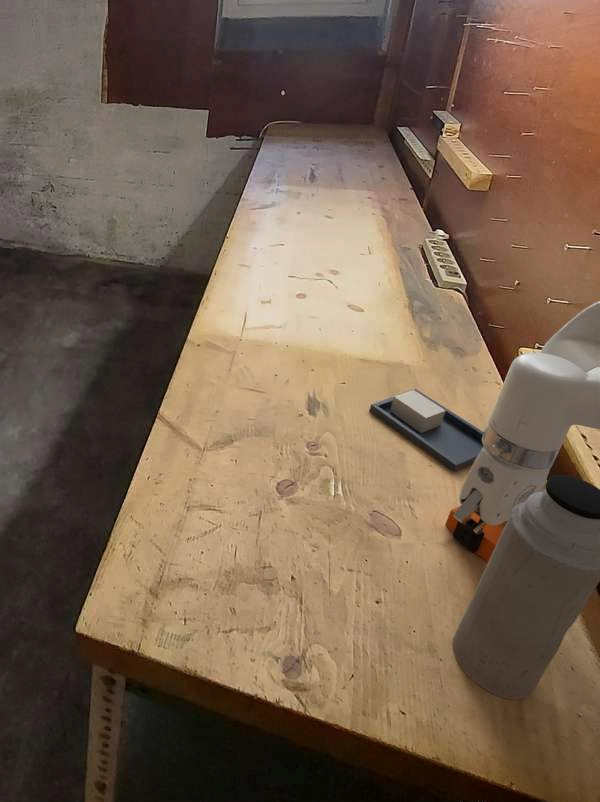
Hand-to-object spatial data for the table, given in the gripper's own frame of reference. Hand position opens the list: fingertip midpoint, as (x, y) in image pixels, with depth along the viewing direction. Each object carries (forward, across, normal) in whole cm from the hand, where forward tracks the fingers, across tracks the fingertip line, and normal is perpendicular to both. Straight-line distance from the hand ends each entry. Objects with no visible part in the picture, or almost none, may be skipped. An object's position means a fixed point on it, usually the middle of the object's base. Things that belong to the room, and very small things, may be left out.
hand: (478, 536), depth 81 cm
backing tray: (0, +14, +18) cm, 23 cm away
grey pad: (0, +14, +21) cm, 26 cm away
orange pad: (0, 0, 0) cm, 0 cm away
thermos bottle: (+1, -15, -12) cm, 19 cm away
